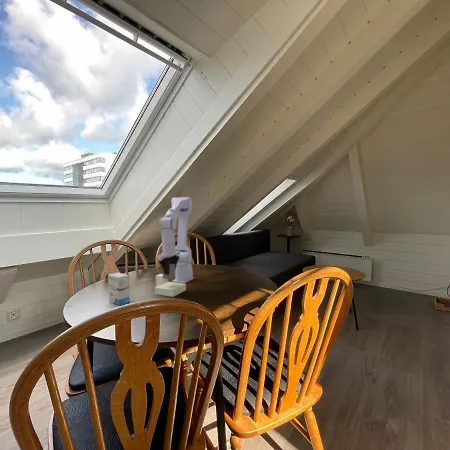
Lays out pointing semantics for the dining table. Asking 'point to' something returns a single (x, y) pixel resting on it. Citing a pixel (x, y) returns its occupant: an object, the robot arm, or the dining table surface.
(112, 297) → the ink box
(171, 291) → the sage board
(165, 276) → the grey rectangular prism
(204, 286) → the dining table surface
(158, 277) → the off-white pillar
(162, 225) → the robot arm
